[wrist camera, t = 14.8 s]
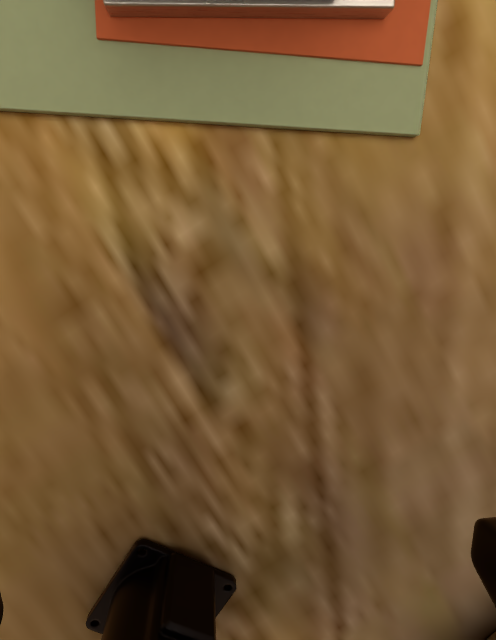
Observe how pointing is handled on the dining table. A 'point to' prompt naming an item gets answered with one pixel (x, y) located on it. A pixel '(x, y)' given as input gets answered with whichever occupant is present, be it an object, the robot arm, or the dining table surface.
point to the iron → (252, 8)
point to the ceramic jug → (492, 636)
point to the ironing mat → (218, 67)
